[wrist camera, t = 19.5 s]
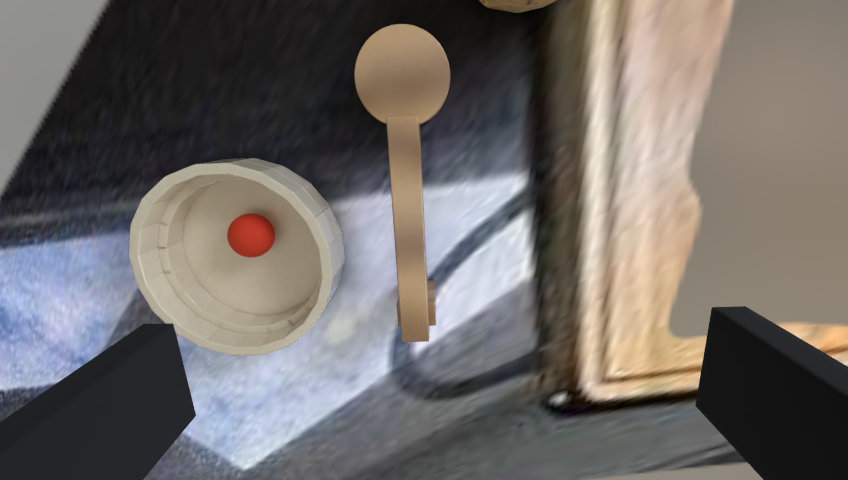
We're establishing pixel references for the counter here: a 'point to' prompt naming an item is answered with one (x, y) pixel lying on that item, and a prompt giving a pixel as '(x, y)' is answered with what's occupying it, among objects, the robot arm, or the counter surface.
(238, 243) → the tomato
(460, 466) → the counter surface
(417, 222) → the ladle
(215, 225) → the bowl
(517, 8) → the potato
